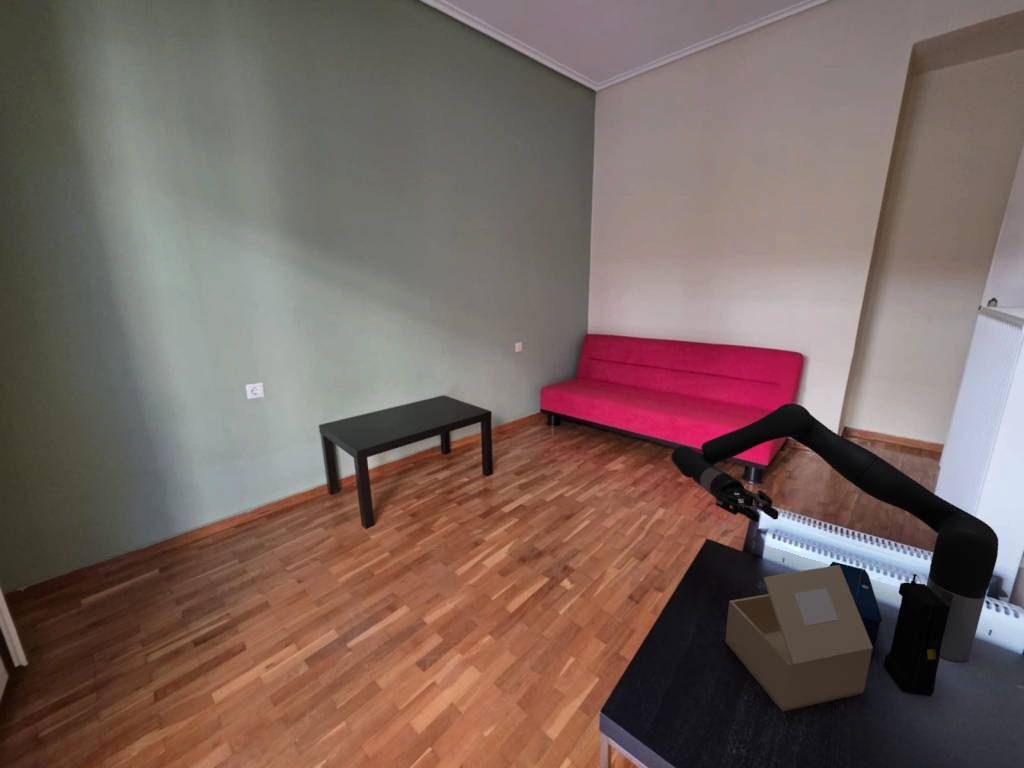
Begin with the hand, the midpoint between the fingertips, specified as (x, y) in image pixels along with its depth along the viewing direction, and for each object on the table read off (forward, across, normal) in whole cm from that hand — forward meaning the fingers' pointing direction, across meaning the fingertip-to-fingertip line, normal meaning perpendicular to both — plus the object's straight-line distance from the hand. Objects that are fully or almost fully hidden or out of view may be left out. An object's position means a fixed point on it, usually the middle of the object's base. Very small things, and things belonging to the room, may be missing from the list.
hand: (767, 517), depth 101 cm
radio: (+4, +24, +32) cm, 41 cm away
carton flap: (+16, 0, +13) cm, 21 cm away
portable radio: (+20, +22, +32) cm, 44 cm away
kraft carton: (+11, 0, +32) cm, 34 cm away
